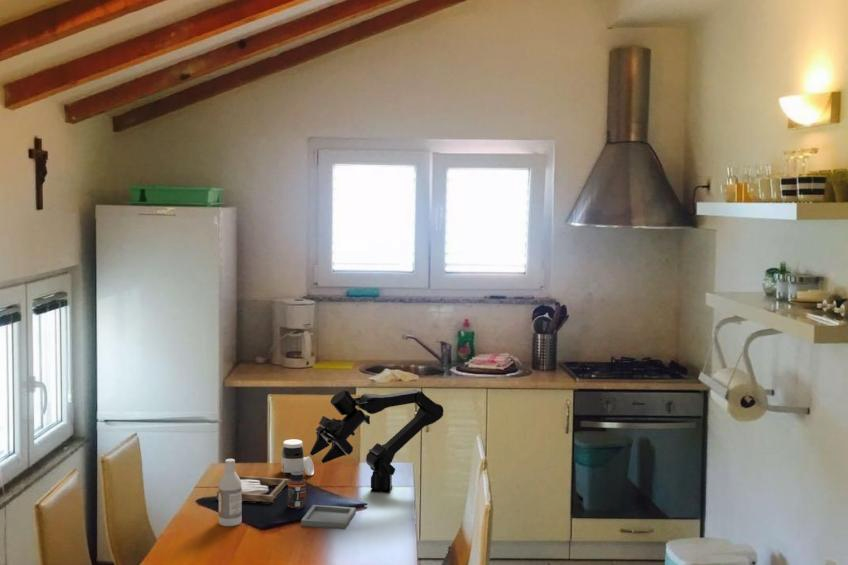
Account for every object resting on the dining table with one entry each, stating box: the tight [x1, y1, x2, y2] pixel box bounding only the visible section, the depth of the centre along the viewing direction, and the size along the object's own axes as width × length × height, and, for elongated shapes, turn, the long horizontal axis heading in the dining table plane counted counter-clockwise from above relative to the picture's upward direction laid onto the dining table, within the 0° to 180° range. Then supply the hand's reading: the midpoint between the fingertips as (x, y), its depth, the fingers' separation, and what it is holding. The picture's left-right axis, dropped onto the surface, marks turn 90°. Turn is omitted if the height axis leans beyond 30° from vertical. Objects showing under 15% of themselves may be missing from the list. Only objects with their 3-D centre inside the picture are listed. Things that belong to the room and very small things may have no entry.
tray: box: [300, 504, 357, 530], centre depth 290 cm, size 14×14×2 cm
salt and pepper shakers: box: [241, 480, 269, 495], centre depth 312 cm, size 12×4×11 cm
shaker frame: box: [216, 475, 289, 503], centre depth 313 cm, size 19×18×2 cm
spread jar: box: [281, 438, 315, 477], centre depth 334 cm, size 12×11×12 cm
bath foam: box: [218, 458, 243, 527], centre depth 284 cm, size 7×7×20 cm
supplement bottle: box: [287, 471, 307, 509], centre depth 300 cm, size 6×6×11 cm
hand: (316, 458), depth 305 cm, fingers open, 9 cm apart
